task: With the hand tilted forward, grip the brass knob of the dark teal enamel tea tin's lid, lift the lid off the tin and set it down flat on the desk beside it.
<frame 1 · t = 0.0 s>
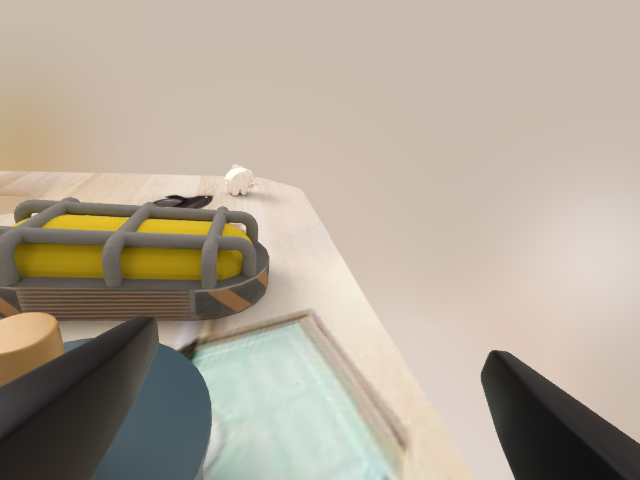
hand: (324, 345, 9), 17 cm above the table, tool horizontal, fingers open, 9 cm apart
elephant figurine: (239, 194, 74), on the table
cage light: (139, 282, 39), on the table
lid: (53, 447, 15), point 7 cm above the table, touching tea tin
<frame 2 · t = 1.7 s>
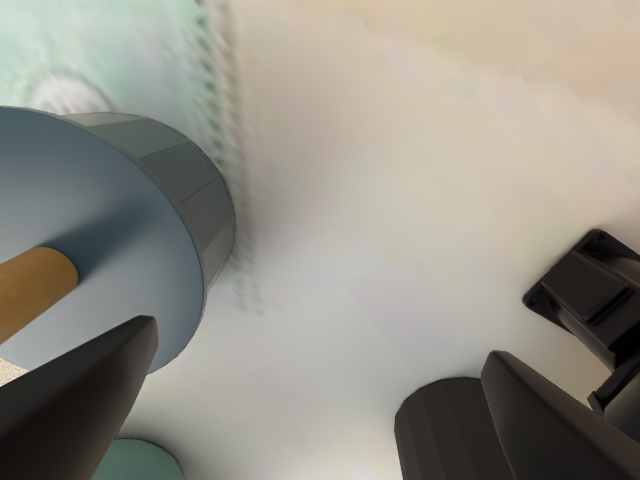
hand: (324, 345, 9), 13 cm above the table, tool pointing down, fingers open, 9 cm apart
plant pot: (139, 464, 32), on the table
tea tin: (141, 214, 21), on the table
vase: (454, 420, 28), on the table
lid: (60, 265, 15), point 7 cm above the table, touching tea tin
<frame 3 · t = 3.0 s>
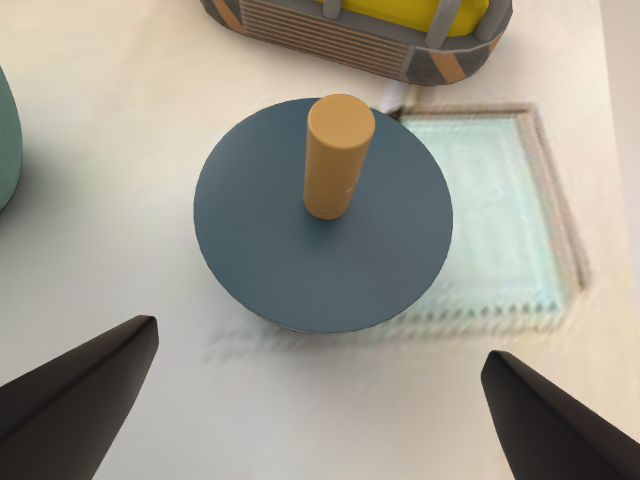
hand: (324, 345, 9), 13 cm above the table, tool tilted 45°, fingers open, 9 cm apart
cage light: (344, 9, 33), on the table
lid: (325, 203, 18), point 7 cm above the table, touching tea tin
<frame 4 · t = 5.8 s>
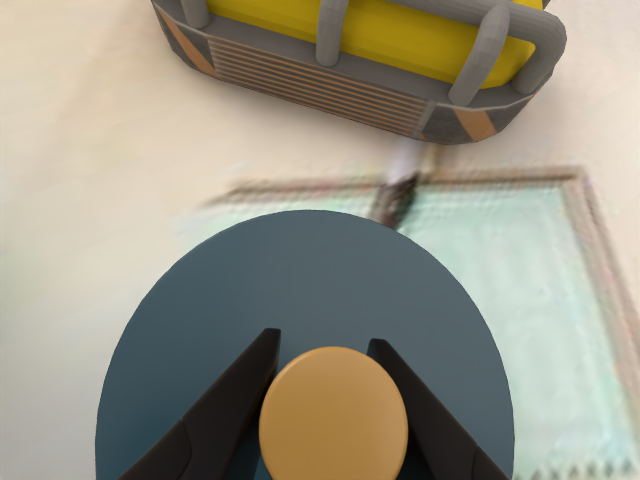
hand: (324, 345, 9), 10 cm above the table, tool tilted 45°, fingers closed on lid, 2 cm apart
cage light: (343, 43, 27), on the table
lid: (313, 393, 11), point 7 cm above the table, touching gripper, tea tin
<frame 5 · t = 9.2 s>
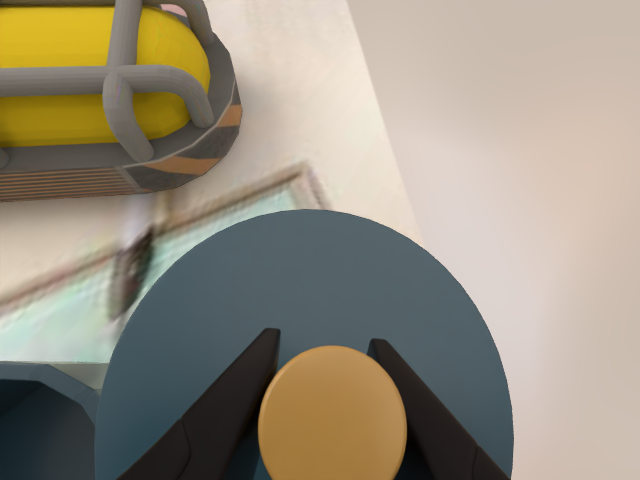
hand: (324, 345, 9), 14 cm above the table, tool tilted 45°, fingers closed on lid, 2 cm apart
cage light: (52, 119, 27), on the table
lid: (312, 393, 11), point 10 cm above the table, touching gripper
when the fingers open (4 cm above the table, at t = 12.8 s): lid stays where it is, point 1 cm above the table.
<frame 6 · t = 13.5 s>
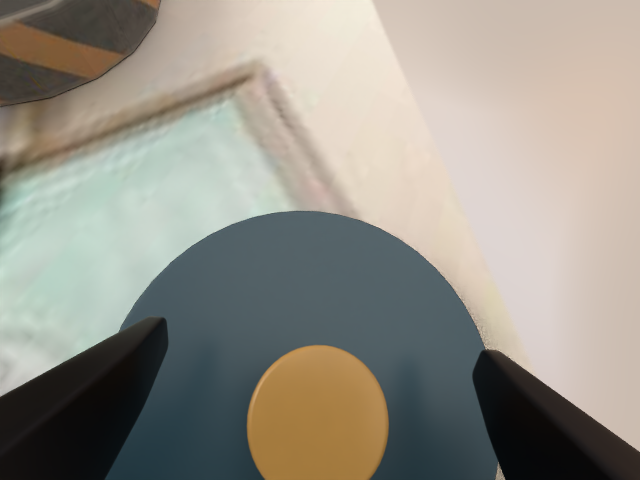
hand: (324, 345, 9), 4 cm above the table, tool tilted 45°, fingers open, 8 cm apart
lid: (304, 390, 12), point 1 cm above the table
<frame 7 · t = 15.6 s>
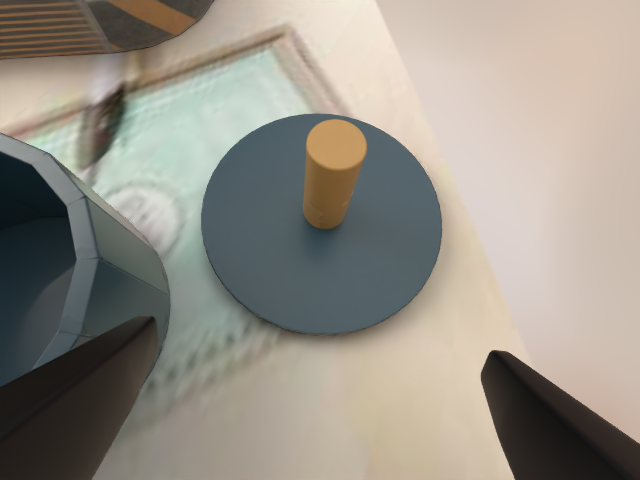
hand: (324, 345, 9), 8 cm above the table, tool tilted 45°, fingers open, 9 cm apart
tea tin: (43, 320, 17), on the table
lid: (323, 213, 19), point 1 cm above the table
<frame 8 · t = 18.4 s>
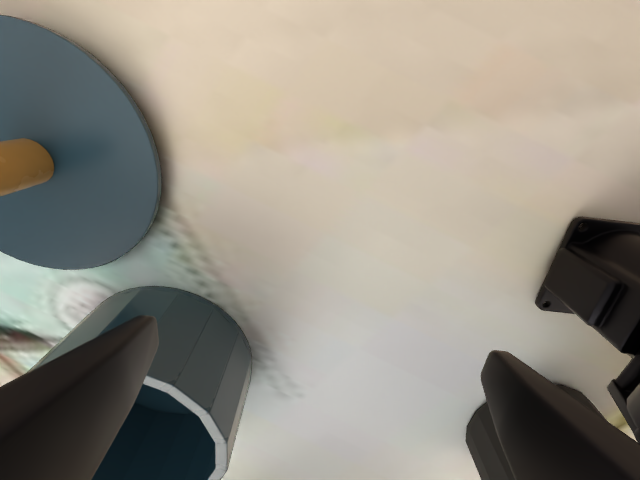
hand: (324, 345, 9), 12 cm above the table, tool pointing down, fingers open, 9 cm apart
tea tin: (170, 356, 25), on the table
vase: (526, 425, 28), on the table
lid: (39, 159, 18), point 1 cm above the table
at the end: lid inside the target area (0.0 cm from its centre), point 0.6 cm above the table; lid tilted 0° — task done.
